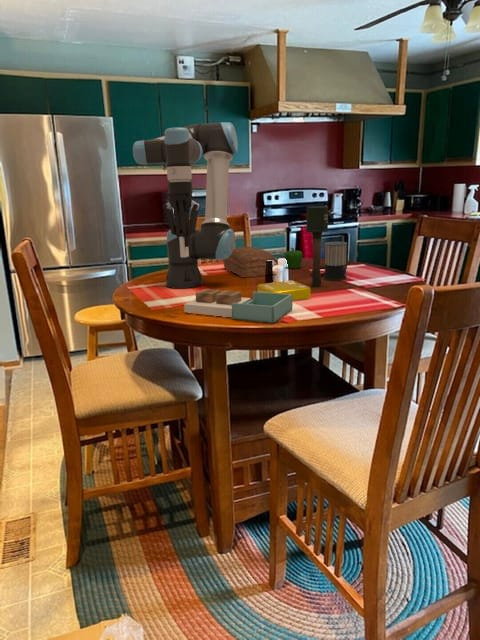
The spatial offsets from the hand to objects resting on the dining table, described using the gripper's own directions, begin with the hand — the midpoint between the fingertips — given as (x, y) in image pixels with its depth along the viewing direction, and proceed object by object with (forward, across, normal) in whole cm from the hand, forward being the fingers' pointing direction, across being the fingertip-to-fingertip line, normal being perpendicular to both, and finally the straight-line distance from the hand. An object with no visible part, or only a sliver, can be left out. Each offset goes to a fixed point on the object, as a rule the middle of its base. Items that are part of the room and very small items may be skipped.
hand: (184, 256), depth 154 cm
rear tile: (+14, +8, 0) cm, 16 cm away
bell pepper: (+17, +9, +79) cm, 82 cm away
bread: (+17, -8, +66) cm, 69 cm away
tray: (+17, +27, 0) cm, 32 cm away
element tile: (+18, +25, +24) cm, 39 cm away
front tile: (+14, +15, 0) cm, 21 cm away
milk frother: (+17, +30, +62) cm, 71 cm away
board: (+17, +11, 0) cm, 21 cm away
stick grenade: (+17, +31, +44) cm, 57 cm away
